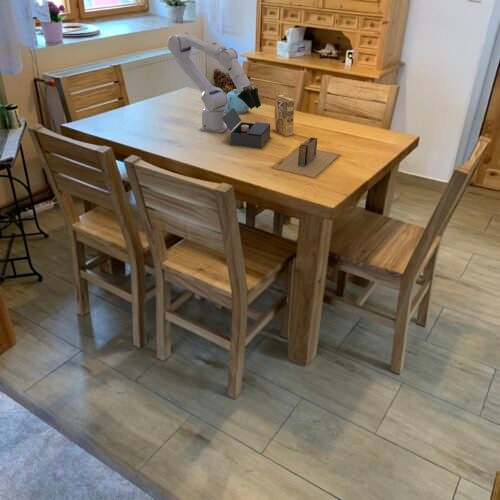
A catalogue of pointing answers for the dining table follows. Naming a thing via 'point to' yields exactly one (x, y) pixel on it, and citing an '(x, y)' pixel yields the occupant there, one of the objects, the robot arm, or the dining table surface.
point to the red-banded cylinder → (244, 129)
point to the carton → (251, 135)
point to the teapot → (235, 102)
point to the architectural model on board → (307, 159)
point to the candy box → (284, 115)
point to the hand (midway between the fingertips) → (256, 107)
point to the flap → (231, 119)
